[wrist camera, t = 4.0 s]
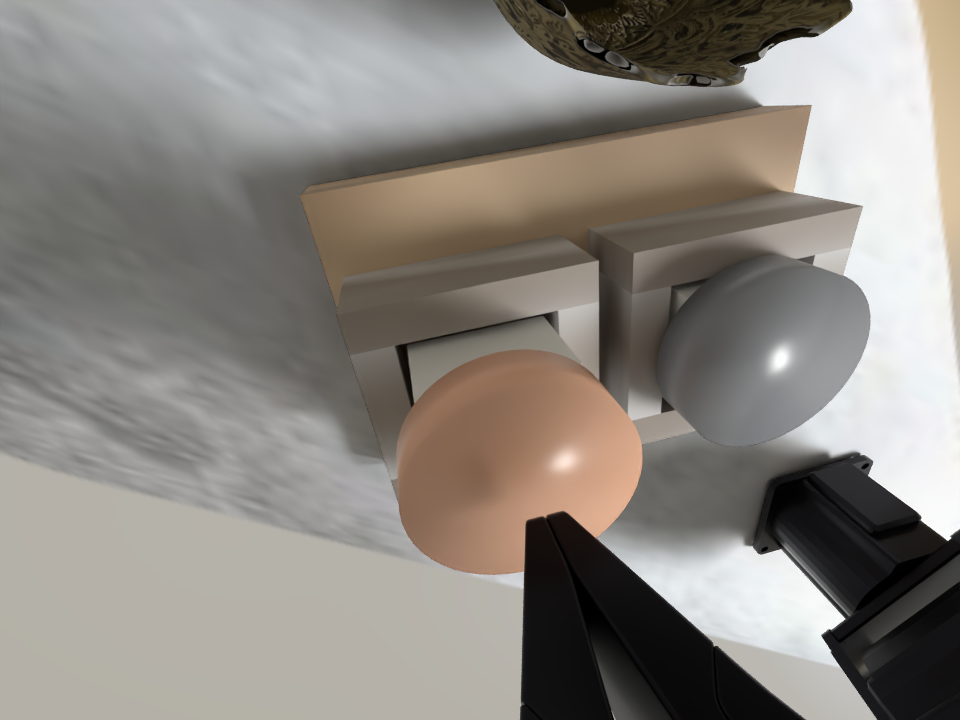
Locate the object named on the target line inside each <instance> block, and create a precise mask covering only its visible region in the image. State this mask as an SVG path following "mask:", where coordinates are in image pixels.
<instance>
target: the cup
mask: <svg viewBox="0 0 960 720" xmlns="http://www.w3.org/2000/svg"><path fill="white" fill-rule="evenodd" d="M494 1H495V3H496V5H497V7H498V8H499V10H500V11H501V13H502V14H503V16H504V17H505V19H506V20H507V21H508V23H509V24H510V25H511V26H512V27H513V29H514V30H515V31H516V32H517V33H518V34H519V35H520V36H521V37H522V38H523V39H524V40H525V41H526V42H527V43H528V44H529V45H530V46H532V47H533V48H534V49H536V50H537V51H539V52H540V53H541V54H543V55H545V56H546V57H548V58H550V59H552V60H554V61H555V62H558V63H560V64H563V65H565V66H568V67H570V68H573V69H576V70H580V71H584V72H589V73H593V74H597V75H603V76H609V77H615V78H622V79H629V80H637V81H646V82H650V83H653V84H659V85H667V86H698V87H721V86H730V85H736V84H739V83H741V82H742V81H743V80H744V75H745V72H746V70H747V68H746V69H745V68H744V67H740V66H742V65H745V64H749V63H753V62H756V61H758V60H760V59H761V58H763V57H764V55H765V54H766V52H767V51H768V50H769V49H771V48H772V47H774V46H775V45H777V44H778V43H780V42H783V41H787V40H791V39H795V38H800V37H816V36H818V35H820V34H822V33H824V32H825V31H827V30H828V29H830V28H831V27H833V26H834V25H835V24H837V23H838V22H840V21H841V20H843V19H844V18H846V17H847V16H848V15H849V14H850V13H851V11H852V3H851V1H850V0H494Z"/></svg>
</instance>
